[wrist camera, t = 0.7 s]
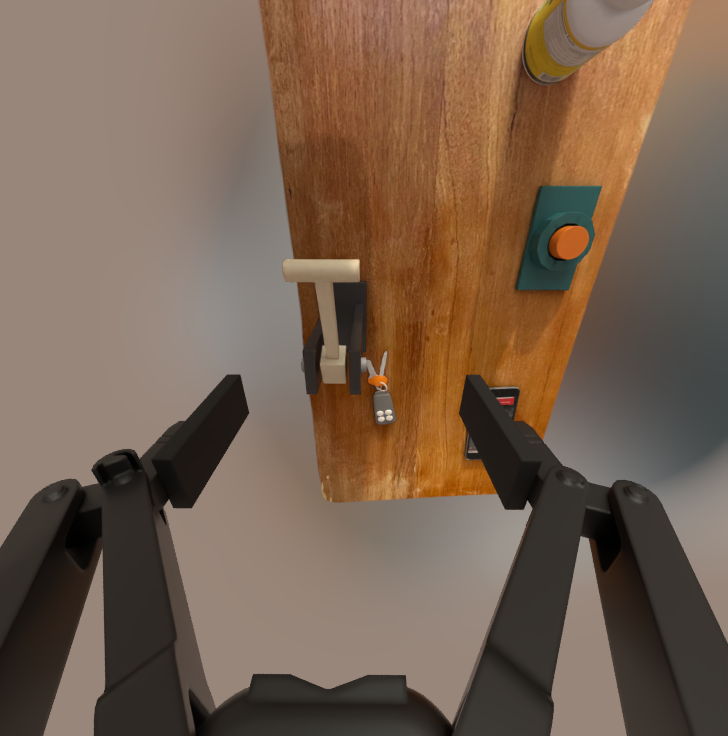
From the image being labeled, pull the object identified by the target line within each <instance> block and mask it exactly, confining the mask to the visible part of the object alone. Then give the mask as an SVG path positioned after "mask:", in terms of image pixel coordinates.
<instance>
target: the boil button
mask: <svg viewBox="0 0 728 736" xmlns="http://www.w3.org/2000/svg"><path fill="white" fill-rule="evenodd" d="M588 242H589V234H588V232H587V230H586V229H585V228H583V227H581V226H565V227H562V228H560V229H559V230H557V231H556V232H555V233H554V234H553V235H552V237H551V239H550V241H549V252H550V254H551V255H552V256H553V257H555V258H560V259H565V260H570V259H573V258H576V257H577V256H579V255H580V254H581V253H582V252H583V251H584V250H585V249H586V247H587V245H588Z"/></svg>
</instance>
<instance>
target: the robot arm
mask: <svg viewBox="0 0 728 736" xmlns="http://www.w3.org/2000/svg"><path fill="white" fill-rule="evenodd" d="M248 414H249V410H248V406H247V402H246V397H245V393H244V389H243V384H242V380H241V376H240V375H226V376H225V378H224V379H223V380H222V381H221V382H220V383H219V384H218V386H216V388H215V389H214V390H213V391H212V392H211V393H210V394H209V395H208V396H207V398H206V399H205V400H204V401H203V402H202V403H201V404H200V405H199V407H198V408H197V409H196V410H195V411H194V412H193V413H192V415H190V417H189V418H188V419H187V420H186V421H179V422H177V423H176V424H174V425H173V426H171V427H170V428H168V429H167V431H166V432H165V433H164V434H163V435H162V437H160V438H159V439H158V440H157V441H156V443H155V444H153V446H152V447H150V449H148V451H147V452H146V453H145V454H144V455H143V456H142V457H141V458H140V459H139V457H138V456H137V453H136V452H135V451H134V450H131V449H122V450H118V451H115V452H112V453H110V454H108V455H106V456H104V457H103V458H101V459H100V460H98V461H97V462H96V464H95V465H93V468H92V472H93V474H94V475H95V477H96V479H97V480H98V482H99V483H98V484H93V485H89V486H85V487H82V486H81V485H80V483H79V482H78V481H77V480H76V479H66V480H61V481H58V482H56V483H53V484H51V485H49V486H47V487H45V488H43V489H42V490H41V491H39V492H38V493H37V494H36V495H35V496H34V497H33V498H32V499H31V500H30V502H29V503H28V505H27V506H26V508H25V509H24V511H23V513H22V514H21V516H20V517H19V519H18V521H17V522H16V524H15V525H14V527H13V529H12V530H11V532H10V533H9V535H8V536H7V538H6V540H5V541H4V543H3V544H2V546H1V548H0V736H43V734H44V731H45V727H46V724H47V721H48V718H49V715H50V712H51V709H52V705H53V702H54V699H55V696H56V693H57V689H58V686H59V683H60V680H61V677H62V673H63V671H64V667H65V664H66V661H67V658H68V655H69V652H70V649H71V645H72V642H73V639H74V636H75V633H76V630H77V627H78V623H79V620H80V617H81V614H82V611H83V608H84V604H85V601H86V598H87V595H88V592H89V589H90V585H91V582H92V579H93V576H94V573H95V570H96V567H97V564H98V560H99V557H100V554H101V551H102V548H103V589H104V635H105V636H104V637H105V690H104V693H103V694H102V695H101V696H100V697H99V698H98V700H97V703H96V706H95V714H94V736H550V733H551V727H552V720H553V712H554V703H553V700H552V698H551V691H552V684H553V679H554V674H555V669H556V663H557V658H558V652H559V647H560V642H561V637H562V631H563V626H564V620H565V615H566V610H567V605H568V599H569V594H570V588H571V583H572V578H573V573H574V567H575V562H576V557H577V552H578V546H579V541H580V536H583V537H586V538H589V542H590V547H591V552H592V557H593V563H594V567H595V573H596V578H597V583H598V588H599V594H600V598H601V604H602V609H603V614H604V619H605V625H606V629H607V634H608V640H609V645H610V650H611V655H612V661H613V666H614V671H615V676H616V681H617V687H618V692H619V697H620V702H621V707H622V713H623V718H624V722H625V728H626V733H627V736H728V643H727V641H726V639H725V637H724V635H723V632H722V630H721V628H720V626H719V624H718V622H717V620H716V618H715V616H714V614H713V611H712V609H711V607H710V605H709V603H708V601H707V599H706V597H705V595H704V593H703V590H702V588H701V586H700V584H699V582H698V580H697V578H696V576H695V573H694V571H693V569H692V567H691V565H690V563H689V561H688V559H687V556H686V554H685V552H684V550H683V548H682V546H681V544H680V542H679V540H678V537H677V535H676V533H675V531H674V529H673V527H672V525H671V523H670V521H669V519H668V516H667V514H666V512H665V510H664V508H663V506H662V504H661V502H660V501H659V499H658V498H657V496H656V495H654V494H653V493H652V492H651V491H650V490H648V489H647V488H645V487H643V486H642V485H640V484H636V483H634V482H632V481H627V480H617V481H616V482H615V483H613V485H612V487H611V488H609V487H605V486H601V485H596V484H592V483H589V482H588V481H587V480H586V479H585V477H583V476H582V475H581V474H580V473H579V472H577V471H575V470H573V469H571V468H568V467H565V466H563V465H562V464H561V463H560V462H559V460H558V459H557V458H556V457H555V455H554V454H553V453H552V452H551V450H550V449H549V448H548V447H547V445H546V444H544V442H543V440H542V439H541V438H540V437H539V435H538V434H537V433H536V432H535V430H534V429H533V428H532V427H530V426H529V425H528V424H526V423H525V422H523V421H513V420H512V418H511V417H510V416H509V414H508V413H507V412H506V410H505V409H504V407H503V406H502V405H501V403H500V402H499V401H498V399H497V398H496V397H495V395H494V394H493V392H492V391H491V390H490V388H489V387H488V386H487V384H486V383H485V381H484V380H483V379H482V377H481V376H480V375H466V379H465V385H464V390H463V395H462V401H461V406H460V412H459V414H460V416H461V418H462V421H463V423H464V425H465V427H466V429H467V431H468V433H469V435H470V437H471V439H472V441H473V443H474V446H475V448H476V450H477V452H478V454H479V456H480V458H481V460H482V462H483V464H484V466H485V468H486V471H487V473H488V475H489V477H490V479H491V481H492V483H493V485H494V487H495V489H496V491H497V493H498V495H499V498H500V499H501V502H502V504H503V506H504V508H505V509H507V510H523V509H524V508H525V505H526V502H527V500H528V501H529V503H530V505H531V506H532V508H533V510H532V512H531V514H530V517H529V519H528V522H527V524H526V528H525V530H524V533H523V536H522V539H521V541H520V544H519V547H518V550H517V552H516V555H515V557H514V560H513V563H512V565H511V568H510V571H509V574H508V576H507V579H506V582H505V584H504V587H503V590H502V592H501V596H500V598H499V601H498V603H497V606H496V609H495V611H494V614H493V617H492V619H491V622H490V625H489V628H488V630H487V633H486V635H485V638H484V641H483V644H482V646H481V649H480V652H479V654H478V657H477V660H476V662H475V665H474V668H473V670H472V673H471V676H470V679H469V682H468V684H467V686H466V689H465V692H464V694H463V697H462V699H461V702H460V704H459V707H458V710H457V712H456V715H455V718H454V720H453V723H452V725H451V723H450V722H449V721H448V719H447V718H446V717H445V716H444V714H443V713H442V712H441V711H440V710H439V709H438V708H437V707H436V706H435V705H434V704H433V703H432V702H431V701H430V700H429V699H427V698H426V697H425V696H424V695H422V694H420V693H419V692H417V691H415V690H413V689H411V688H408V687H407V686H406V676H405V675H367V676H364V677H362V678H359V679H356V680H353V681H351V682H348V683H345V684H343V685H340V686H337V687H335V688H332V689H324V688H322V687H320V686H317V685H315V684H312V683H310V682H307V681H305V680H303V679H300V678H298V677H295V676H293V675H291V674H253V676H252V681H251V684H250V687H248V688H245V689H243V690H242V691H240V692H238V693H236V694H234V695H233V696H232V697H230V698H229V699H227V700H226V701H224V702H223V703H222V704H221V705H220V706H219V707H218V708H216V707H215V704H214V701H213V698H212V695H211V692H210V690H209V687H208V685H207V682H206V678H205V674H204V671H203V666H202V662H201V658H200V653H199V649H198V645H197V641H196V637H195V633H194V628H193V625H192V620H191V616H190V612H189V608H188V603H187V600H186V595H185V591H184V587H183V583H182V579H181V574H180V570H179V566H178V562H177V557H176V553H175V549H174V545H173V541H172V537H171V532H170V528H169V524H168V520H167V516H166V512H165V510H164V508H163V507H164V505H165V504H166V502H167V501H168V500H170V502H171V504H172V506H173V508H192V507H193V505H194V504H195V502H196V500H197V499H198V497H199V495H200V494H201V492H202V490H203V489H204V487H205V485H206V484H207V482H208V480H209V479H210V477H211V475H212V474H213V472H214V470H215V469H216V467H217V466H218V464H219V462H220V460H221V459H222V457H223V456H224V454H225V452H226V451H227V449H228V447H229V446H230V444H231V442H232V441H233V439H234V437H235V436H236V434H237V432H238V431H239V429H240V428H241V426H242V424H243V423H244V421H245V419H246V418H247V416H248Z"/></svg>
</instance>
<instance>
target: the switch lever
mask: <svg viewBox="0 0 728 736" xmlns="http://www.w3.org/2000/svg"><path fill="white" fill-rule="evenodd" d="M282 269H283V276H284V279H285V281H286V282H315V287H316V293H317V300H318V306H319V312H320V318H321V325H322V331H323V337H324V344H325V345H323V346H322V354H321V361H320V368H321V373H322V378H323V383H346V380H347V352H346V346H339V341H338V331H337V321H336V311H335V302H334V292H333V282H359V281H360V261H359V260H334V259H285V260H284V261H283V266H282Z"/></svg>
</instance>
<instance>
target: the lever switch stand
mask: <svg viewBox="0 0 728 736" xmlns="http://www.w3.org/2000/svg"><path fill="white" fill-rule="evenodd" d="M333 292H334V302H335V311H336V321H337V331H338V341H339V346H346V352H349V377H350V394H357V395H360V394H361V372H366V358H365V357H362V352H366V296H367V281H359V282H333ZM323 345H325V344H324V337H323V331H322V325H321V318H320V317H319V319H318V321H317V323H316V325H315V327H314V329H313V331H312V333H311V335H310V337H309V339H308V341H307V343H306V345H305V347H304V349H303V358H302V362H301V367H302V371H303V372H305V380H306V390H307V394H318V390H319V387H320V383H321V380H322V373H321V368H320V361H321V354H322V346H323Z"/></svg>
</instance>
